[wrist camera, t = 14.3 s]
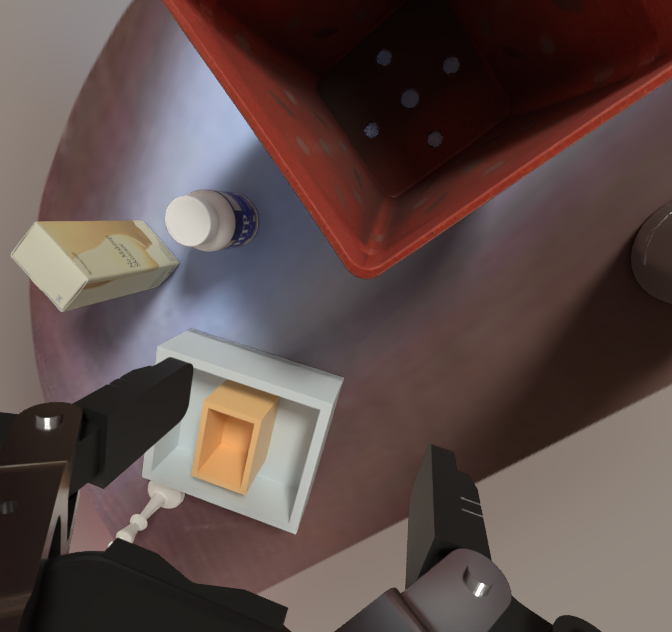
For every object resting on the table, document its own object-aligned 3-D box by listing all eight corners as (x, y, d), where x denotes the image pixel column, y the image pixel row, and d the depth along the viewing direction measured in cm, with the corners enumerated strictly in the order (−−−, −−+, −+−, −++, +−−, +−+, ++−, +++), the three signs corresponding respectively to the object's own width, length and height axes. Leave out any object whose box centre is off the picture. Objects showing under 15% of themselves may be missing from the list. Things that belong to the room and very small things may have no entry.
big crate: (344, 377, 41) (333, 404, 35) (310, 494, 46) (295, 534, 40) (191, 328, 43) (157, 346, 37) (173, 445, 48) (142, 476, 42)
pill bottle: (243, 256, 40) (198, 268, 31) (202, 226, 40) (146, 230, 31) (269, 213, 38) (229, 213, 30) (226, 181, 38) (174, 173, 30)
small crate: (282, 392, 42) (261, 420, 36) (266, 459, 45) (244, 495, 39) (231, 375, 43) (203, 400, 37) (218, 442, 45) (191, 475, 40)
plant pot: (576, 122, 31) (746, 30, 15) (381, 255, 37) (359, 288, 21) (450, -95, 29) (496, -459, 13) (264, 82, 35) (141, -27, 19)
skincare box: (182, 262, 41) (92, 282, 30) (158, 288, 43) (63, 316, 31) (140, 216, 41) (32, 218, 29) (117, 243, 42) (6, 255, 31)
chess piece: (154, 467, 49) (93, 527, 40) (188, 482, 49) (134, 547, 40) (147, 496, 51) (87, 561, 42) (181, 511, 51) (127, 580, 41)
